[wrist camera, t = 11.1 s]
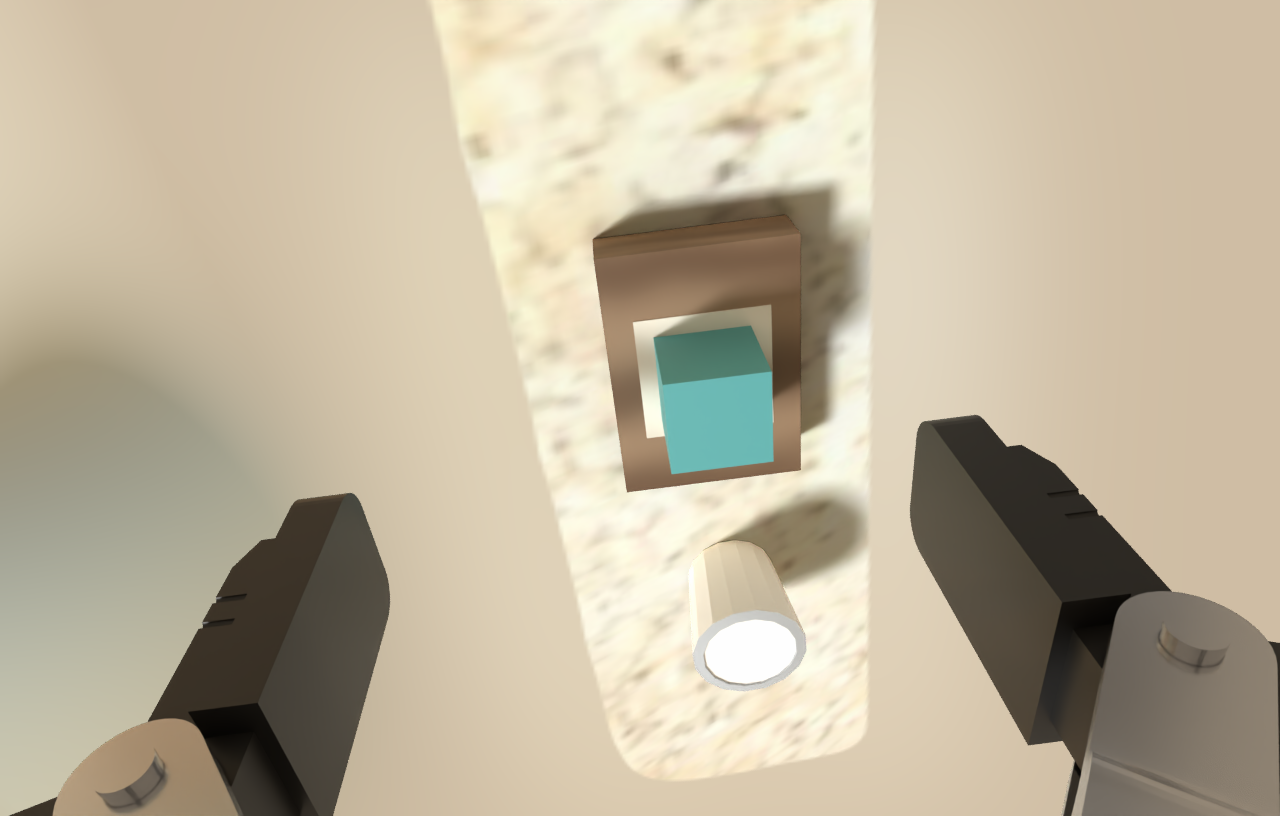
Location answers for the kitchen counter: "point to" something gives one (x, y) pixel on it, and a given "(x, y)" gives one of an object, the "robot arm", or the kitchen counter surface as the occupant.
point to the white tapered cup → (742, 619)
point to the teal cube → (715, 399)
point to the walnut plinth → (699, 328)
